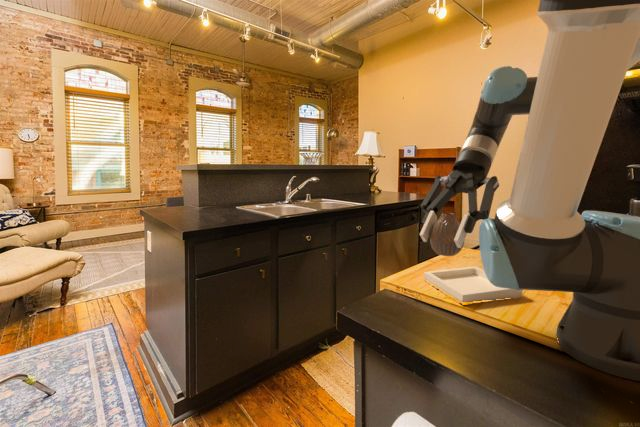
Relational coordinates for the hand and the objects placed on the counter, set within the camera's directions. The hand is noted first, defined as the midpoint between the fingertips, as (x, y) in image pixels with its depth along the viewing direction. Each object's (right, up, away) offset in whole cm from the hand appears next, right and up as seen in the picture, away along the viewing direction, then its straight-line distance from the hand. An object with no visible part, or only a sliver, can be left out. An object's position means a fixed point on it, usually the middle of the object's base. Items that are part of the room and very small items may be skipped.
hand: (439, 240), depth 67 cm
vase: (+2, -3, +3) cm, 5 cm away
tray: (+13, -13, +15) cm, 24 cm away
